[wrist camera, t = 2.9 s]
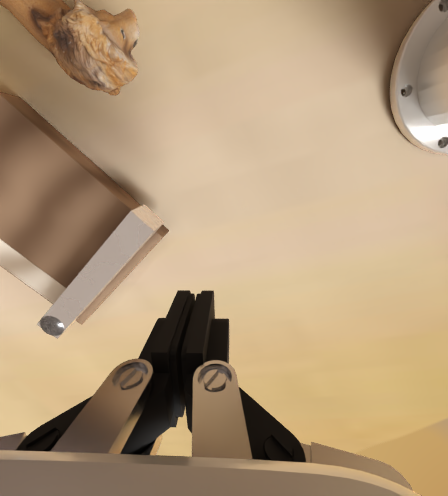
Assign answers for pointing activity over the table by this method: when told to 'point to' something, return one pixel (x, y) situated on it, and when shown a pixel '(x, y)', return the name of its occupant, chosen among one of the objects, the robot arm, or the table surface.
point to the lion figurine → (83, 40)
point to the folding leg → (101, 269)
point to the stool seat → (55, 206)
